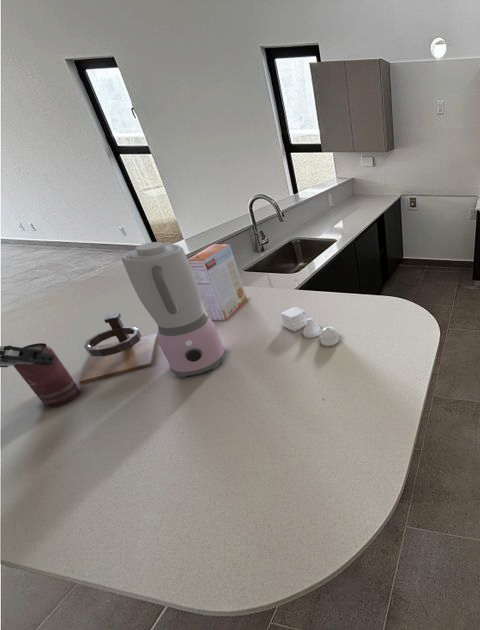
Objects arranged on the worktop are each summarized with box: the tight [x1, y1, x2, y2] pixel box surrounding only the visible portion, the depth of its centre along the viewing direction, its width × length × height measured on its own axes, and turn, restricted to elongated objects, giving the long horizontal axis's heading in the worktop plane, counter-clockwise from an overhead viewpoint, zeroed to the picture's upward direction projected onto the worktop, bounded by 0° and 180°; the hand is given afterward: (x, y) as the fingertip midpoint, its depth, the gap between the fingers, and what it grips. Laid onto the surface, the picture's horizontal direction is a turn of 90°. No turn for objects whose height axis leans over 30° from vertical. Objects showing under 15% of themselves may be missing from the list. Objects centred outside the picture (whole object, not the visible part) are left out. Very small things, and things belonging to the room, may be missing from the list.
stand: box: [78, 312, 158, 385], centre depth 86 cm, size 14×16×10 cm
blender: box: [121, 241, 227, 378], centre depth 77 cm, size 16×12×32 cm
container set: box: [280, 306, 340, 347], centre depth 97 cm, size 20×5×6 cm, turn 56°
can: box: [12, 342, 82, 409], centre depth 72 cm, size 6×6×14 cm
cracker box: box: [187, 243, 248, 321], centre depth 105 cm, size 14×6×21 cm, turn 178°
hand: (30, 361), depth 69 cm, fingers open, 8 cm apart
